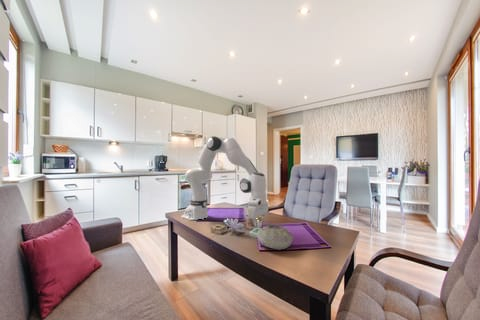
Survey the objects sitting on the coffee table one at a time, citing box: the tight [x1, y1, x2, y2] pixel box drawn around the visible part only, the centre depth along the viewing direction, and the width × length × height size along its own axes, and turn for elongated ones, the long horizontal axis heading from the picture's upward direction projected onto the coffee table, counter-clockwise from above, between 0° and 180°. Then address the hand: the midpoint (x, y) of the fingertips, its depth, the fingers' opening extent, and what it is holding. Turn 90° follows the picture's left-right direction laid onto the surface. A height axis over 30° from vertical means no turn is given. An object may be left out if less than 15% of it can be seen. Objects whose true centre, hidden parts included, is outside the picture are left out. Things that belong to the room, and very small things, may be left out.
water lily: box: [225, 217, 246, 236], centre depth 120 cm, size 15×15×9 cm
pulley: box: [223, 218, 235, 229], centre depth 133 cm, size 7×7×5 cm
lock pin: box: [257, 216, 262, 232], centre depth 117 cm, size 4×4×10 cm
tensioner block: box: [210, 224, 227, 235], centre depth 125 cm, size 7×7×3 cm
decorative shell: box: [257, 223, 293, 251], centre depth 102 cm, size 18×18×10 cm
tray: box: [248, 228, 258, 239], centre depth 117 cm, size 9×9×2 cm
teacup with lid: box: [245, 212, 263, 230], centre depth 132 cm, size 12×9×12 cm
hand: (259, 223), depth 117 cm, fingers open, 8 cm apart
